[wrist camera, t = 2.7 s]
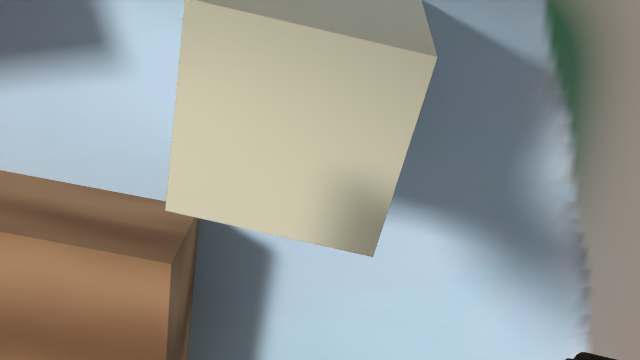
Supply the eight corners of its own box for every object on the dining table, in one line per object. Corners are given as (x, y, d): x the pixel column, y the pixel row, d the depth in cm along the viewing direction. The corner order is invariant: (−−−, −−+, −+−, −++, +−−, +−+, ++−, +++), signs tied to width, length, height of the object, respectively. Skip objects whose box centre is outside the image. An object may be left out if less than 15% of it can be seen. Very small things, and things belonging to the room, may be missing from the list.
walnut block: (-43, 157, 24) (-115, 209, 20) (201, 203, 24) (171, 264, 20) (-14, 335, 29) (-68, 402, 25) (187, 373, 29) (161, 445, 25)
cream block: (238, -45, 19) (185, -3, 14) (421, -2, 19) (437, 57, 14) (215, 123, 22) (165, 210, 17) (374, 159, 22) (372, 257, 17)
